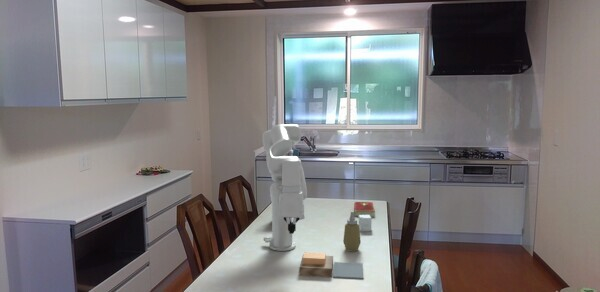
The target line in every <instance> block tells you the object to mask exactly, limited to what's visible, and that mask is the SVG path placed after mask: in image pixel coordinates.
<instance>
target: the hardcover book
mask: <svg viewBox="0 0 600 292" xmlns="http://www.w3.org/2000/svg"><path fill="white" fill-rule="evenodd" d="M374 206H375V205H374V201H373V202H372V201H354V205H353V212H354V217H359V215H370V217H371V218H374V216H375V207H374Z"/></svg>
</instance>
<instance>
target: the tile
mask: <svg viewBox="0 0 600 292" xmlns="http://www.w3.org/2000/svg"><path fill="white" fill-rule="evenodd" d="M303 255H304V256H303ZM303 255H302V257H303V264H321V265H325V260H326V256H327V253H326V252H307V251H306V252H304V254H303Z"/></svg>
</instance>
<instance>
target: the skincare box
mask: <svg viewBox="0 0 600 292" xmlns="http://www.w3.org/2000/svg"><path fill="white" fill-rule="evenodd" d="M372 218H373V217H370V215H359V216H358V225H359V229H360V232H372V221H373V220H372Z"/></svg>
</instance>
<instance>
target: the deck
mask: <svg viewBox="0 0 600 292" xmlns="http://www.w3.org/2000/svg"><path fill="white" fill-rule="evenodd" d="M303 256H304V254H302V257H301V261H300V264H299V268H298V269H299V271H298V273H299V276H304V277H305V276H306V277H307V276H308V277H325V278H326V277H327V278H333V271H334V255H326V260H325V265H321V264H303Z"/></svg>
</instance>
